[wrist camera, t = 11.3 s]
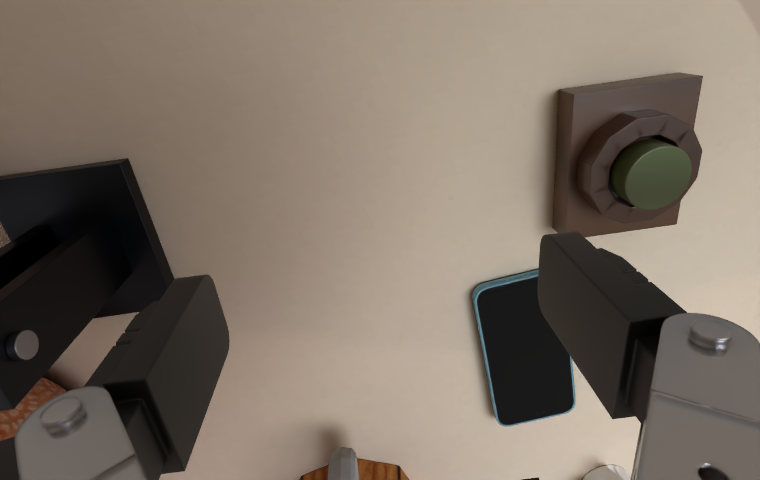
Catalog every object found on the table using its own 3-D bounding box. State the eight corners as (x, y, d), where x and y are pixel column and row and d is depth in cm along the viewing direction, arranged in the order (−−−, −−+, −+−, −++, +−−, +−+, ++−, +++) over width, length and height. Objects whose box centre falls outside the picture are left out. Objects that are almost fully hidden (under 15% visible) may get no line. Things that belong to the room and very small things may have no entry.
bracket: (-8, 177, 30) (-266, 288, 17) (128, 158, 30) (-31, 255, 17) (64, 314, 34) (-96, 479, 22) (181, 297, 34) (87, 453, 22)
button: (613, 143, 28) (629, 150, 26) (678, 134, 28) (698, 141, 26) (607, 204, 29) (621, 214, 28) (668, 195, 29) (686, 205, 28)
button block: (558, 89, 29) (587, 98, 26) (679, 72, 29) (725, 79, 26) (552, 227, 34) (576, 252, 30) (657, 212, 34) (694, 235, 30)
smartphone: (564, 268, 34) (576, 411, 40) (558, 262, 35) (571, 402, 41) (472, 291, 35) (497, 429, 41) (468, 284, 36) (494, 419, 42)
